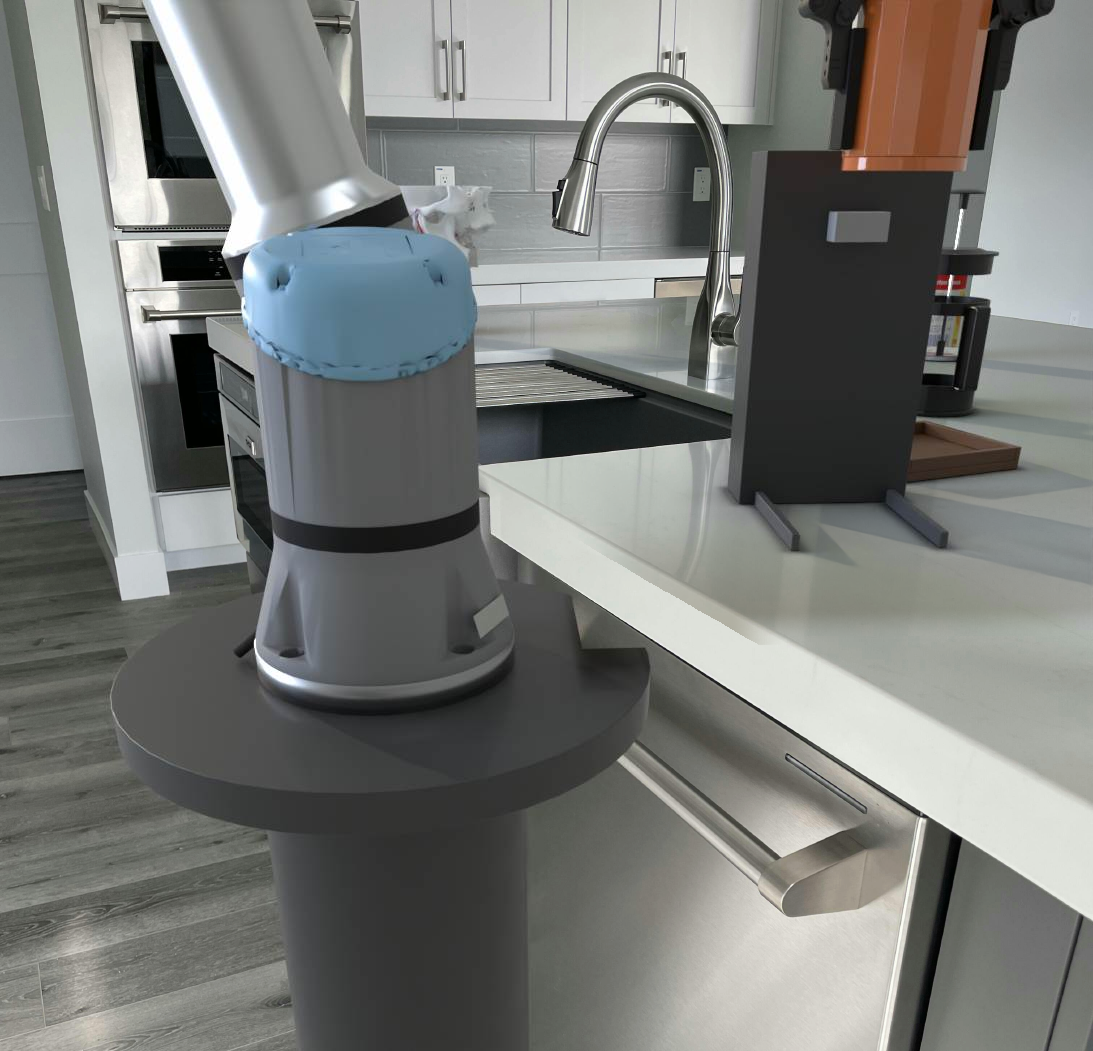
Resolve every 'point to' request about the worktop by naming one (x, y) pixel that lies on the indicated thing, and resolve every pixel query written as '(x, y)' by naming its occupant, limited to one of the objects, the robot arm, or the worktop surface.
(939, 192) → the standing panel with handle
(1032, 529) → the worktop surface
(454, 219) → the skull
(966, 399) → the french press
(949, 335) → the canned food
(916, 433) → the tray
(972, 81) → the cup
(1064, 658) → the worktop surface
